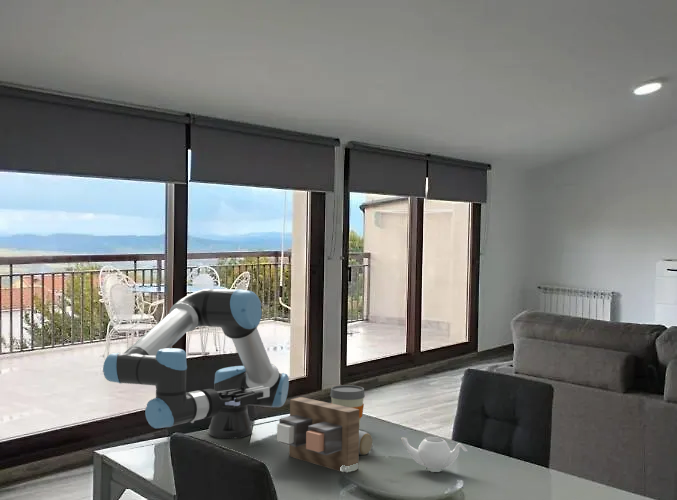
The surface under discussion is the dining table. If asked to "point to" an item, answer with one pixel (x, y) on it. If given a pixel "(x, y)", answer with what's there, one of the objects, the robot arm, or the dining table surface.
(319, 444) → the terracotta key
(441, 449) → the teapot
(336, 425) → the key panel
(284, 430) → the white key
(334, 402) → the reusable coffee cup
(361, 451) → the grey canister
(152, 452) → the dining table surface
